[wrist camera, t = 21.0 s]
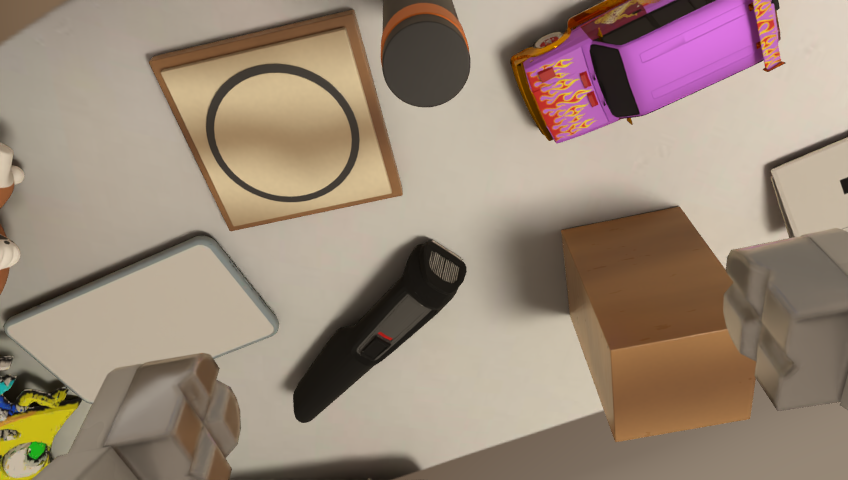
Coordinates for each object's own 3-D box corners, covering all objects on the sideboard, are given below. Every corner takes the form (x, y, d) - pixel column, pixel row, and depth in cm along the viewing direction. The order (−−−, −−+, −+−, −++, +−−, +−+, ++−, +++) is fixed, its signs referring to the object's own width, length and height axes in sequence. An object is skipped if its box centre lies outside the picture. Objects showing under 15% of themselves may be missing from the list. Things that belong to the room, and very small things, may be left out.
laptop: (784, 243, 38) (800, 257, 36) (759, 163, 36) (774, 172, 34) (911, 195, 36) (934, 206, 34) (890, 108, 35) (914, 115, 33)
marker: (375, -42, 28) (370, 31, 19) (438, -58, 28) (463, 10, 19) (391, 22, 30) (392, 117, 21) (450, 8, 29) (478, 98, 20)
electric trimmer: (280, 376, 43) (273, 413, 41) (423, 232, 37) (425, 265, 34) (326, 398, 45) (322, 434, 42) (470, 263, 38) (476, 297, 36)
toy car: (500, 47, 31) (516, 81, 27) (745, -79, 28) (802, -60, 24) (540, 139, 34) (560, 181, 30) (766, 33, 31) (819, 65, 27)
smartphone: (283, 333, 40) (90, 408, 42) (285, 323, 40) (95, 397, 43) (205, 236, 35) (-6, 327, 38) (209, 226, 36) (2, 316, 38)
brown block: (560, 229, 37) (610, 350, 29) (679, 206, 37) (764, 322, 28) (569, 315, 41) (615, 442, 33) (676, 294, 41) (750, 419, 32)
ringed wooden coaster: (153, 56, 30) (144, 65, 29) (353, 8, 29) (352, 16, 28) (232, 224, 36) (227, 237, 35) (402, 188, 35) (403, 200, 34)
